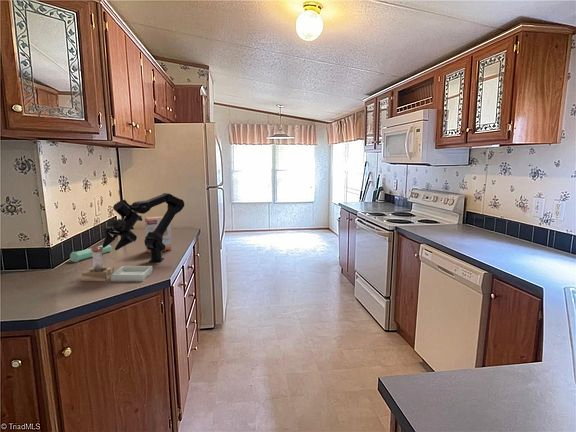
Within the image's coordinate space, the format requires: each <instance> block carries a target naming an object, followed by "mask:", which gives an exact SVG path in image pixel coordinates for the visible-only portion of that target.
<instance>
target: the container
mask: <svg viewBox="0 0 576 432" xmlns="http://www.w3.org/2000/svg"><path fill="white" fill-rule="evenodd" d="M102 246H103V244H102V245H98V246H97V247H102ZM91 248H92V247H91ZM91 248H87V249H83V250H79V251H72V252H70V254H69V259H70V260H71V262H73V263H78V262H79V261H84V260H88V259H90V258H93V256H92V251H91ZM112 249H113V248H112V246H111V244H109V245H108V246H106V247H105V248H103V250H102V255H104V254H107V253H109V252H111V251H112Z"/></svg>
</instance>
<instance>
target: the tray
mask: <svg viewBox="0 0 576 432" xmlns="http://www.w3.org/2000/svg"><path fill="white" fill-rule="evenodd" d="M151 274H153V265H122V266H121V267H119V268H118V269H117V270H115V271H114V273H113V274H111V277H110V282H144V281H145V280H146V279H147V278H148V277H149V276H150V275H151Z"/></svg>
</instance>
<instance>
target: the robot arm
mask: <svg viewBox="0 0 576 432" xmlns="http://www.w3.org/2000/svg"><path fill="white" fill-rule="evenodd" d="M163 203H166V204H167V210H166V212H165V213H164V215H163V216H164V217H163V218H162V220H161V221H160V223H159V225H158V226H157V228H156V229H155V231H154V232H149V233H148V234H147V236H146V237H145V236H144V245H145V248H146V247H147V249H149V250H150V251H151V253H150V259H149V260H148V262H149V263H162V261H163V260H165V258H164V257H163V255H162V254H163V252H164V251H163V250H165V245H164V244H163V243H162V241H163V234H164V232H165V231H166V229H167V227H168V226H169V224H170V223H171V224H172V221H173V220H174V218H175V216H176V215H177V214H178V213H180V212H181V211H182V210H183V209H184V208H185V201H184V200H183V199H182V198H179V197H176V196H174V195H172V194H171V193H168V192H167V193H166V192H165V193H164V192H163V193H162V194H159V195H157V196H155V197H154V196H153V197H152V198H150V199H147V200H139V201H134V202H133V203H132V204H129V203H128V202H127V201H126V199H121V200H120V201H117V202H116V203H115V204H114V205H113V207H112V209H113V210H114V211H115V213H117V214H118V215H119V216H120V217H122V218H123V219H122V218H118V219H112V218H111V219H110V218H109V219H108V221H107V222H106V227H104V229H102V232H103V234H104V236H105V237H104V240H103V244H102V245H103V246H102V245H101V246H102V247H103V248H105V247H106V246H108V245H111V243H112V242H114V241H115V240H116V238H118V236H119V237H120V239H119V241H118V242H117V244H116V246H115V247H114V250H115V251H118V250H120V249H121V248H124V247H125V246H128V245H129V244H131V243H133V242H136V240H137V239H138V235H136V234H135V232H133V230H134V229H135V227H134V226H135V225H136V223H137V222H138V221H139V222H142V221H143V217H142V215H139V214H143V215H144V214H146V213H148V212H149V211H150V210H151V209H153V208H154V207H157V206H158V205H159V206H160V205H161V204H163ZM112 227H113V228H112ZM145 238H146V239H145Z"/></svg>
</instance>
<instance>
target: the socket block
mask: <svg viewBox="0 0 576 432" xmlns="http://www.w3.org/2000/svg"><path fill="white" fill-rule="evenodd" d="M114 272H115V267H114V266H103V272H94V270H93V266H92V267H90V268H88V269H87V270H84V272H81V281H82V282H95V281H97V282H105V281H107V280H108V279H109V278H110V279H111V274H113V273H114Z"/></svg>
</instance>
